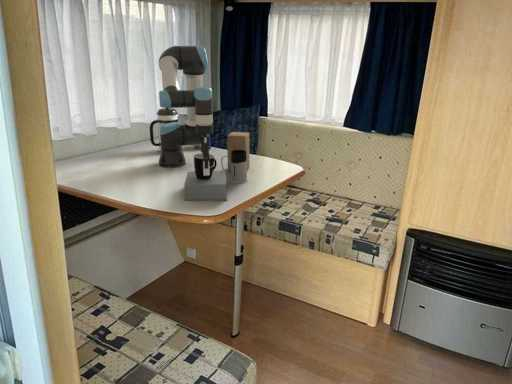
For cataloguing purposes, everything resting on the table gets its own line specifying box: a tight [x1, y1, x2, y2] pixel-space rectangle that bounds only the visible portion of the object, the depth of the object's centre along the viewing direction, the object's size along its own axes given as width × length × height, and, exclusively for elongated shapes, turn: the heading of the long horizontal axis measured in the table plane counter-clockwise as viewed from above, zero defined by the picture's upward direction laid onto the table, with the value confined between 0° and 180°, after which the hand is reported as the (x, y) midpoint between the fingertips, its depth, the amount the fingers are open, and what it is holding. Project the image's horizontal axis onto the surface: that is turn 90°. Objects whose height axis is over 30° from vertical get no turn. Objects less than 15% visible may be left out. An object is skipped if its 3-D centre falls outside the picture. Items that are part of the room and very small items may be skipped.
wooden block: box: [226, 131, 250, 173], centre depth 224 cm, size 10×10×20 cm
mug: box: [193, 152, 217, 180], centre depth 187 cm, size 12×9×10 cm
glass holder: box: [220, 150, 249, 184], centre depth 206 cm, size 9×14×15 cm, turn 122°
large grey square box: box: [183, 170, 228, 202], centre depth 190 cm, size 21×19×8 cm
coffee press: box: [149, 107, 179, 153], centre depth 259 cm, size 17×16×30 cm
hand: (205, 170), depth 187 cm, fingers open, 13 cm apart
